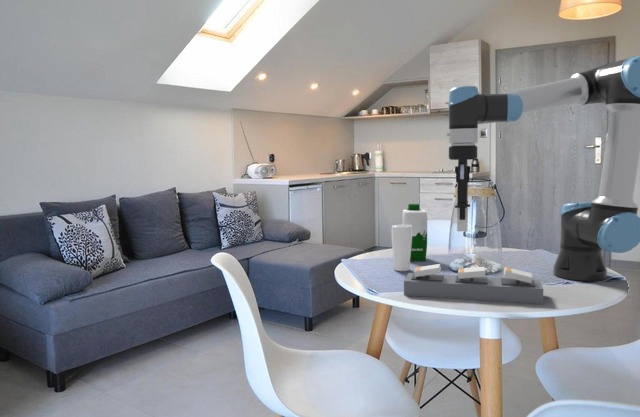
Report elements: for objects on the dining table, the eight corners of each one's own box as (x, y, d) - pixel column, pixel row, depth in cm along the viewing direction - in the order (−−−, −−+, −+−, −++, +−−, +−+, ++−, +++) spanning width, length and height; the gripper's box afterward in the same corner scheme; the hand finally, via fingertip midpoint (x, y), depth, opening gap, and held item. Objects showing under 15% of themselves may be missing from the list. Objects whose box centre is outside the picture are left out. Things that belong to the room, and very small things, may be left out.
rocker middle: (485, 272, 150) (484, 266, 149) (485, 276, 145) (484, 270, 145) (459, 274, 152) (458, 268, 152) (458, 278, 147) (457, 272, 147)
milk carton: (424, 256, 200) (424, 203, 198) (428, 261, 191) (429, 206, 189) (401, 256, 200) (401, 203, 198) (403, 262, 192) (404, 206, 189)
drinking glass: (387, 270, 180) (387, 225, 178) (400, 266, 184) (400, 223, 182) (402, 273, 175) (402, 228, 173) (416, 270, 179) (416, 225, 177)
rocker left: (441, 269, 153) (440, 263, 153) (439, 273, 148) (438, 267, 148) (417, 272, 155) (415, 267, 155) (415, 277, 150) (413, 271, 150)
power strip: (539, 293, 148) (539, 276, 148) (542, 304, 139) (543, 285, 138) (408, 286, 159) (408, 269, 158) (403, 295, 149) (403, 277, 149)
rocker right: (529, 278, 146) (531, 272, 146) (531, 283, 142) (533, 277, 141) (503, 272, 148) (505, 266, 148) (504, 276, 143) (505, 270, 143)
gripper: (450, 145, 152) (449, 227, 155) (447, 145, 140) (446, 234, 143) (477, 144, 150) (476, 227, 153) (477, 144, 138) (476, 235, 140)
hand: (462, 230), depth 148 cm, fingers closed
